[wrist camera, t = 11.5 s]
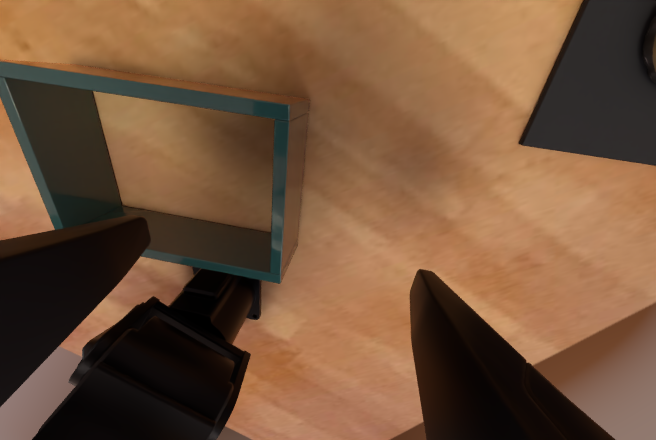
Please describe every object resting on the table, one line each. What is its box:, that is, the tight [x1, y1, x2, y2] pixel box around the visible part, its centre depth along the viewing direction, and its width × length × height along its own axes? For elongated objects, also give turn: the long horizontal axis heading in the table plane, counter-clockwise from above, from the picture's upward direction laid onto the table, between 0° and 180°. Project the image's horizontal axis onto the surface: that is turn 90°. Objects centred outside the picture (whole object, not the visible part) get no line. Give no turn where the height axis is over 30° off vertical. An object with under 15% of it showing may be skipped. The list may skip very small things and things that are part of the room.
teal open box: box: [0, 60, 310, 284], centre depth 19 cm, size 12×17×5 cm
